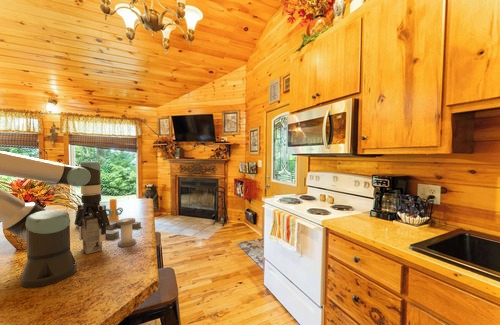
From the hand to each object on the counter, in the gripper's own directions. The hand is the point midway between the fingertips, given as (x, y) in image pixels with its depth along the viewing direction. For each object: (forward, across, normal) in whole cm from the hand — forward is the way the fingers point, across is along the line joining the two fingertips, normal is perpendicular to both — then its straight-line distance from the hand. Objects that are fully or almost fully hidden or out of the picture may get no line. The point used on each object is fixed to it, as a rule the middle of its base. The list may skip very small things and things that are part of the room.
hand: (92, 240), depth 102 cm
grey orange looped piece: (+5, +28, -40) cm, 49 cm away
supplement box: (+5, +40, -29) cm, 50 cm away
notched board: (+4, +12, -23) cm, 26 cm away
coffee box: (+5, 0, 0) cm, 5 cm away
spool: (+4, -11, -9) cm, 15 cm away
